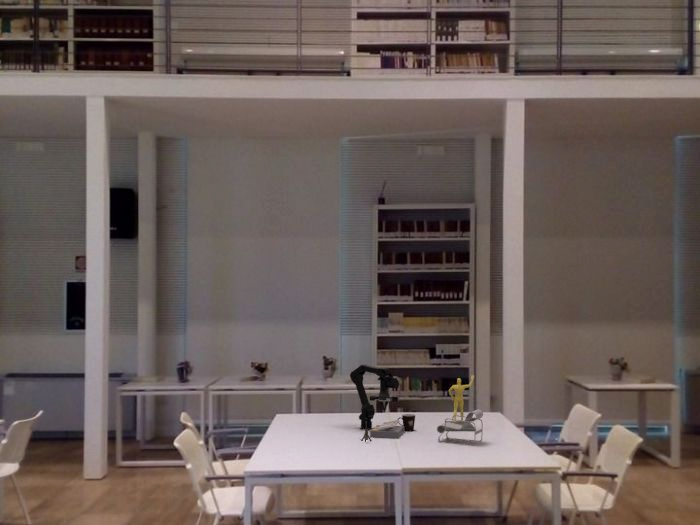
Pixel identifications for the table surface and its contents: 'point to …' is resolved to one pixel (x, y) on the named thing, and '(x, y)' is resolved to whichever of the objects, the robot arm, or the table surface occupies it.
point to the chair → (456, 426)
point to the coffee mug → (408, 421)
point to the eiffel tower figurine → (366, 434)
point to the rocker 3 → (387, 426)
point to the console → (387, 432)
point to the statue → (460, 402)
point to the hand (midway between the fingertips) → (384, 411)
